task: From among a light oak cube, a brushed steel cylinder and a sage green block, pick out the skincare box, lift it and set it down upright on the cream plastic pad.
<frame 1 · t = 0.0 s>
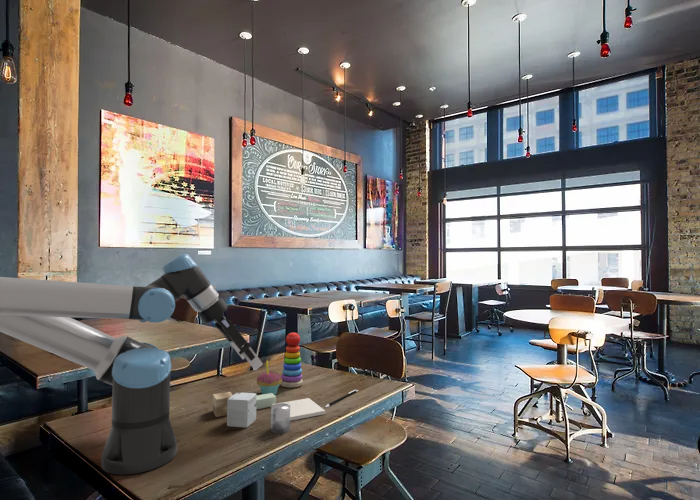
hand: (252, 361, 117), 15 cm above the table, tool tilted 35°, fingers open, 13 cm apart
pen: (342, 400, 131), on the table
cream pad: (298, 410, 120), on the table
stacking toy: (291, 385, 144), on the table
sage block: (263, 406, 124), on the table
steel cylinder: (280, 429, 107), on the table
cupcake: (268, 394, 135), on the table
oak cube: (223, 412, 118), on the table
skincare box: (241, 423, 111), on the table
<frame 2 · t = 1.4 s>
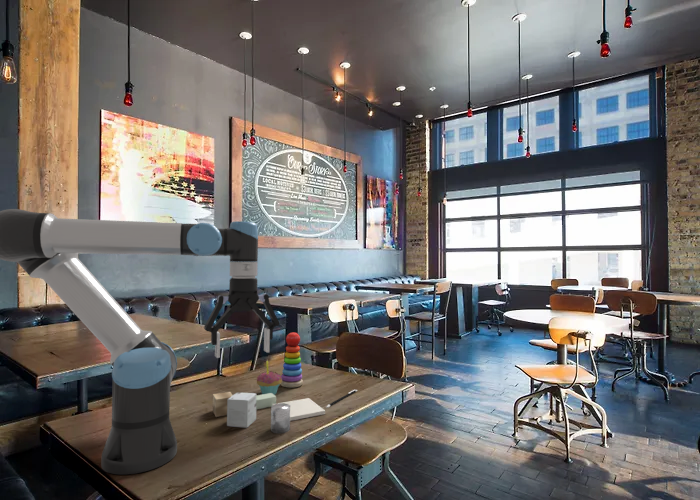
hand: (242, 354, 111), 19 cm above the table, tool pointing down, fingers open, 13 cm apart
nothing on the table moved.
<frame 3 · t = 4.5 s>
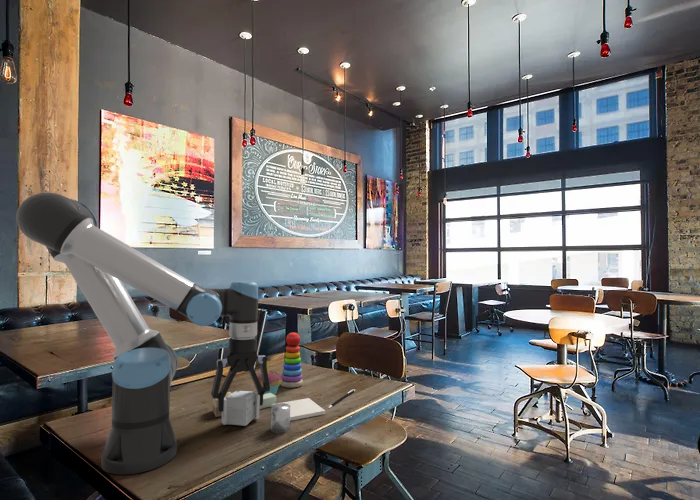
hand: (240, 419, 111), 1 cm above the table, tool pointing down, fingers closed on skincare box, 8 cm apart
skincare box: (240, 421, 111), on the table, touching gripper
everything else where it was.
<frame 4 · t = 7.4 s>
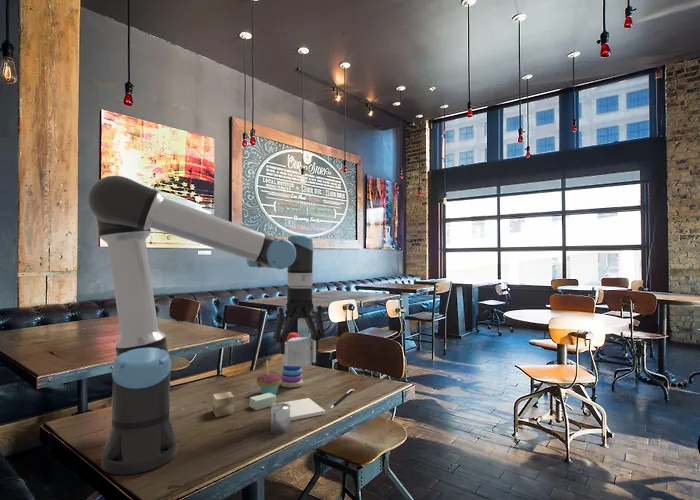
hand: (299, 363, 120), 14 cm above the table, tool pointing down, fingers closed on skincare box, 8 cm apart
skincare box: (299, 364, 120), point 14 cm above the table, touching gripper
everything else where it was.
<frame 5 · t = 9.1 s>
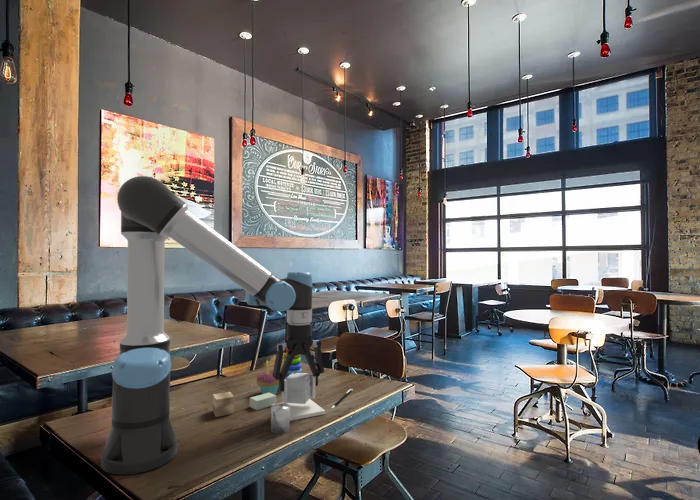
hand: (298, 399, 120), 3 cm above the table, tool pointing down, fingers closed on skincare box, 8 cm apart
skincare box: (298, 400, 120), point 3 cm above the table, touching gripper
when the fingers open (2 cm above the table, at t = 10.2 s): skincare box stays where it is, resting on cream pad.
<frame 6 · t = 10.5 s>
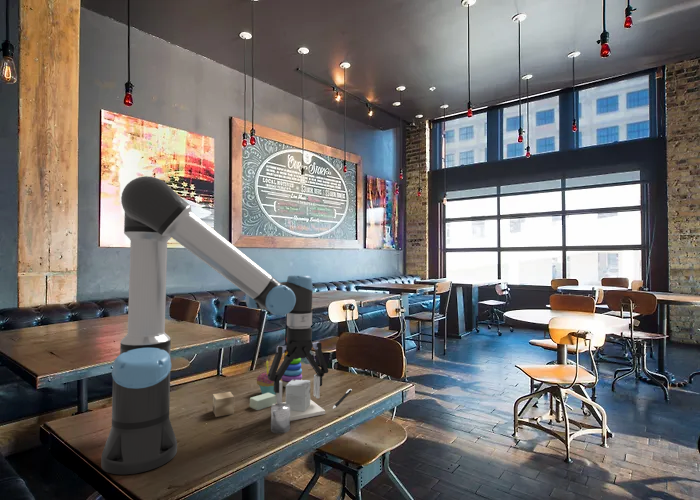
hand: (298, 400, 120), 3 cm above the table, tool pointing down, fingers open, 11 cm apart
skincare box: (297, 408, 120), point 1 cm above the table, touching cream pad
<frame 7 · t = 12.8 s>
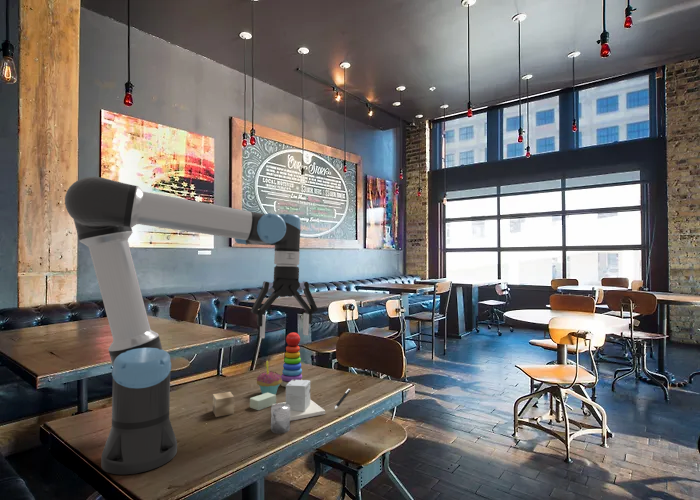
hand: (284, 336, 121), 22 cm above the table, tool pointing down, fingers open, 13 cm apart
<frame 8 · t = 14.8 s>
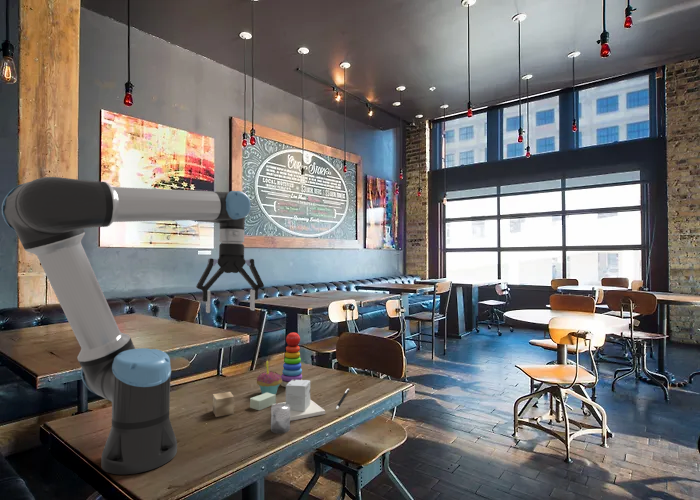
hand: (230, 311, 125), 29 cm above the table, tool pointing down, fingers open, 13 cm apart
at the end: skincare box inside the target area on the cream pad (0.1 cm from its centre), point 0.8 cm above the cream pad's base; skincare box tilted 0°; oak cube moved 0.1 cm from its start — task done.
